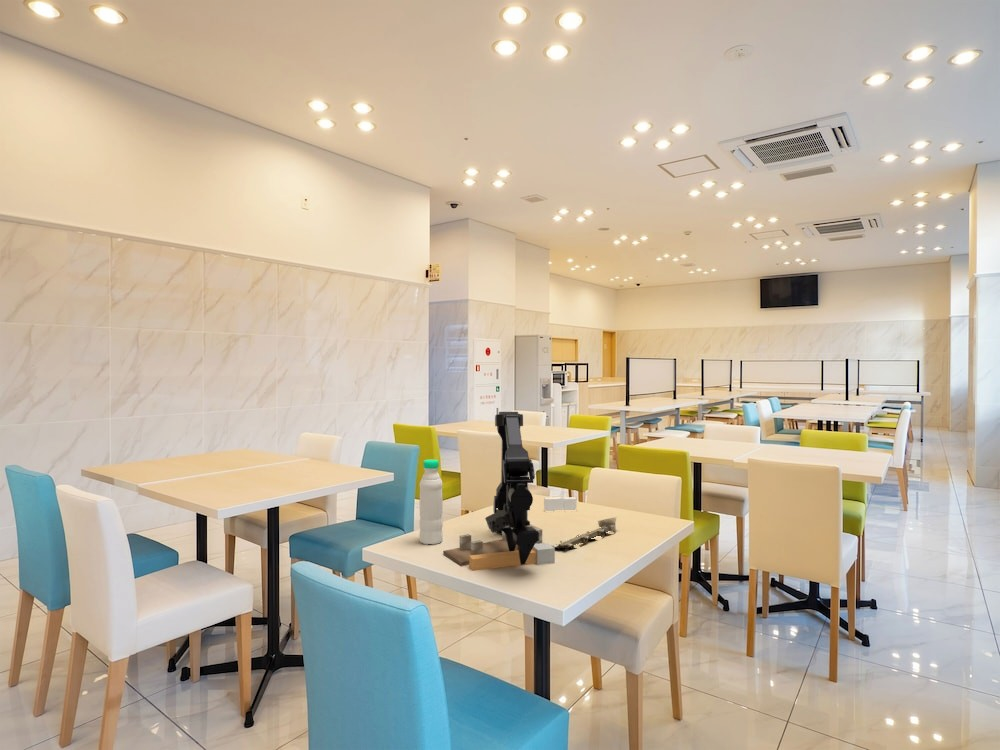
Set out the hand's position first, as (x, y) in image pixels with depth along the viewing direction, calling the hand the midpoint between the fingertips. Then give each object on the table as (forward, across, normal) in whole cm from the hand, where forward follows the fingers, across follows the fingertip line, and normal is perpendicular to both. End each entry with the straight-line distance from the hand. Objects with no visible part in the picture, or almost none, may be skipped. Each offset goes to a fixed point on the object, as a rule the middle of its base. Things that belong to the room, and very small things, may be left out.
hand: (516, 558), depth 147 cm
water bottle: (+1, -25, -19) cm, 32 cm away
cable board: (+1, -11, -4) cm, 12 cm away
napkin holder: (+2, -47, +34) cm, 58 cm away
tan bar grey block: (+1, 0, -2) cm, 2 cm away
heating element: (+2, -14, +27) cm, 30 cm away
